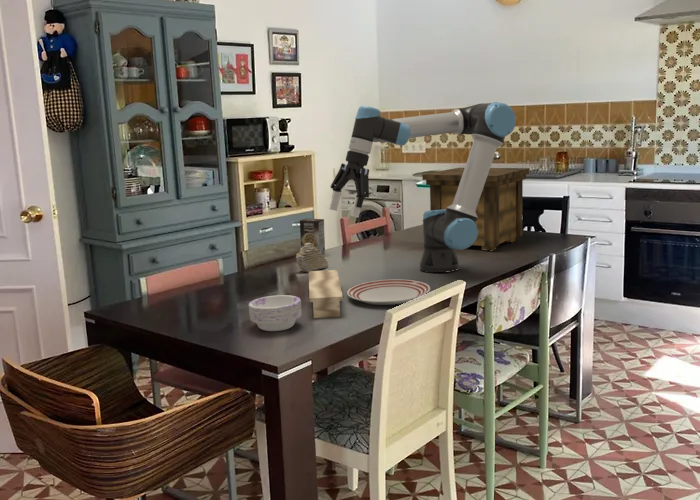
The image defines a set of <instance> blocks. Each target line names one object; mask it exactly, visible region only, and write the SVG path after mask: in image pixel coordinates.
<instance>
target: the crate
mask: <svg viewBox="0 0 700 500" xmlns="http://www.w3.org/2000/svg"><path fill="white" fill-rule="evenodd" d="M464 169H465V167H455V168H454V167H453V168H450V169H445V170H439V171H435V172H434V171H433V172H429V173H423V174H422V177H421V178H422V180H423V181H425V182H426V183H425V186H429V199H430V200H429V201H430V202H429V204H430V205H429V206H430V210H429V211H431V210H442V209H447V207H448V206H450V205H452V204H453V201H454V198H455V195H456V192H457V190H458V187H459V184H460V181H461V178H462V175H463V172H464ZM530 170H531V169H530V168H528V167H526V168H525V167H524V168H523V167H520V168H519V167H490V170H489V173H488V176H487V178H486V181H485V184H484V187H483V190H482V193H481V196H480V199H479V202H478V205H477V208H476V211H475V212H476V214H477V216H478V218H477V221H476V225H477V229H478V236H477V239H476V241H475V242H474V243H473V244H472V245H471V246H481V250H482V249H487V250H493V249H495V248H496V249H497V247H499V246H500V244H502V243H508V242H512V243H514V242H516V238H520V237H522V236H523V203H524V202H523V198H524V197H523V195H524V194H523V187H524V186H523V182H524V180H526V179H527V175H528V174H530V172H531V171H530ZM505 241H506V242H505ZM513 241H514V242H513Z"/></svg>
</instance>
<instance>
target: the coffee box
mask: <svg viewBox="0 0 700 500" xmlns="http://www.w3.org/2000/svg"><path fill="white" fill-rule="evenodd" d="M299 232H300V248H302V247H304V244H305V243H312V244H314V246H315V247H316V248H317V249H318V250H319V251H320V253H321V254H322V255H323V257H325V256H326V243H325V242H326V241H325V239H326V238H325V219H324V218H303V219H300V220H299Z"/></svg>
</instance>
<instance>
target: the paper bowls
mask: <svg viewBox="0 0 700 500" xmlns="http://www.w3.org/2000/svg"><path fill="white" fill-rule="evenodd" d="M248 313H249V314H248V315H249V320H250V322H252V323H255V324H256V325H257V326H258V328H259V329H260V330H262V331H265V332H280V331H285V330H288V329H290V328H292V327H293V326H294V325H295V324H296V320H298V319H300V318H301V317H302V314H303V313H302V300H301V298H300V297H298V296H295V295H290V294H289V295H287V294H282V295H281V294H279V295H277V294H276V295H268V296H263V297H258V298H256V299H253V300H251V301H249V303H248Z"/></svg>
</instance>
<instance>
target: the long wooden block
mask: <svg viewBox="0 0 700 500" xmlns="http://www.w3.org/2000/svg"><path fill="white" fill-rule="evenodd" d="M308 289H309V290H308V291H309V292H308V293H309V295H308V296H309V297H308V299H309V300H308V301H309V303H312V309H313V310H312V311H313V312H312V313H313V319H321V318H337V317H338V318H339V317H341V307H340V306H341V304H340V303H341V302H342V301H343V299H344V297H343V292H342V288H341V282H340V278H339V273H338V269H328V270H326V269H325V270H313V271H309V272H308ZM340 301H341V302H340Z"/></svg>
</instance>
